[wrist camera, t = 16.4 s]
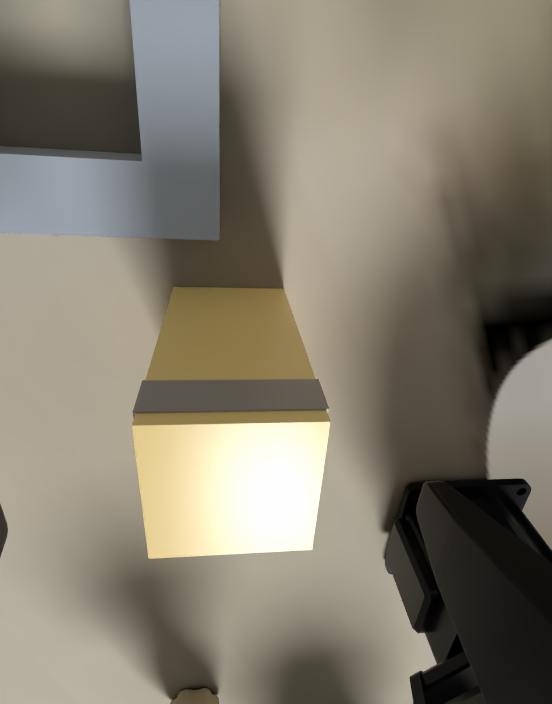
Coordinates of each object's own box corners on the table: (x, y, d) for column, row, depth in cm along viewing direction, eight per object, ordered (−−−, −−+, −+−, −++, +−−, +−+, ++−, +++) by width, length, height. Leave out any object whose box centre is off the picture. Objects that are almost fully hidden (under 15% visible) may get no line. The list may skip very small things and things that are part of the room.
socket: (219, -185, 10) (218, -264, 8) (219, 222, 15) (219, 240, 13) (-233, -253, 9) (-371, -365, 7) (-85, 210, 13) (-142, 228, 11)
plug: (285, 287, 16) (332, 419, 9) (278, 381, 18) (314, 551, 11) (171, 285, 16) (129, 423, 8) (177, 382, 17) (146, 560, 10)
